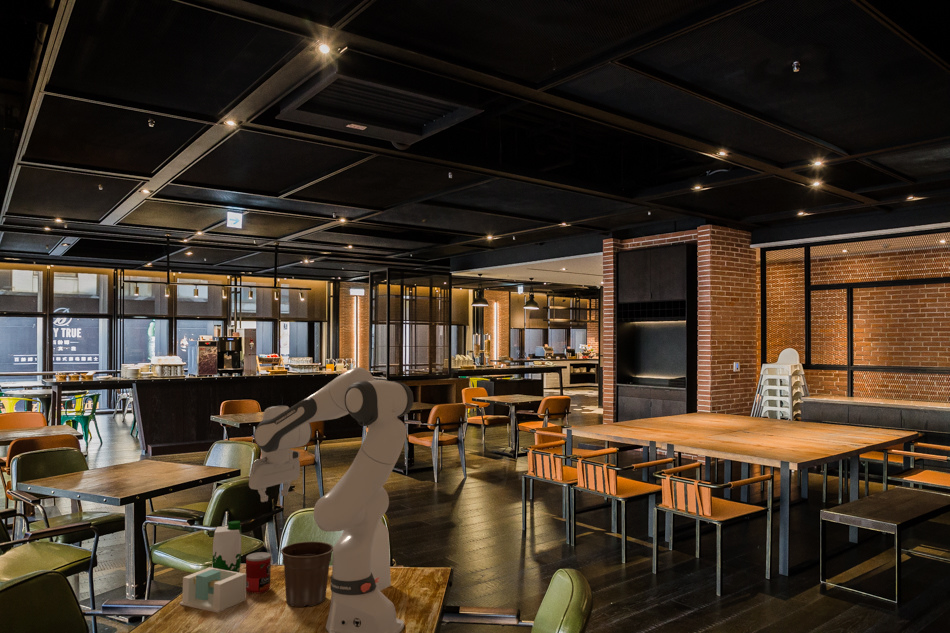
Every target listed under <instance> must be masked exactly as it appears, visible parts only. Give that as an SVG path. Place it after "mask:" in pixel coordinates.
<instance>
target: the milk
mask: <svg viewBox="0 0 950 633" xmlns="http://www.w3.org/2000/svg"><path fill="white" fill-rule="evenodd" d="M389 536H390V534H389V530H388V527H387V526H386V525H385V524H384V523H383V522H382V520H380V522H379V524H378V527H377V530H376V533H375V536H374V540H373V545H372V557H371V572H372V574H373V577H374V580H375V579H376V578H378V577H379V579H378V580H379V581H378V580H377V581H378V582H377V583H376V588H377V589H378V590H379V591H380V592H382V591H383V590H385V589H387V588H388V587H391V585H392V581H391V579H392V578H391V577H392V576H391V559H390V558H391V556H390V537H389Z"/></svg>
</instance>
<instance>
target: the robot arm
mask: <svg viewBox="0 0 950 633" xmlns="http://www.w3.org/2000/svg"><path fill="white" fill-rule="evenodd" d="M413 405H414V394H413V391H412V390H411V388H410V387H409V386H408V385H407V384H405V383H403V382H400V381H395V380H393V381H392V380H391V381H389V380H383V379H377V380H376V379H374V376H373V375H372V373H371V372H370V371H369V370H367V369H366V368H363V367H361V366H360V367H353V368H351V369H349V370H346V371H345V372H343V373H341V374H340V375H338V376H336V377H335V378H334V379H332V380H331V381H330V382H328V383H327V384H325V385H324V386H323V387H322V388H320V389H319V390H317V391H316V392H314V393H313V394H311V395H309V396H308V397H305V398H304V399H302V400H301V401H299V402H297V403H296V404H294V405H292V406H291V407H289V406H288V405H276V406H275V405H274V406H268V407H267V408H266V409H264V412H263V416H262V420H261V421H259V423H258V425H257V427H256V428H255V431H254V434H253V438H254V442H255V444H256V446H257V447H258V448H259V449H260V450H261V452H260V453H261V458H256V459H255V460H254V461H253V463H251V467H250V471H249V478H248V479H249V480H248V487H249V488H250V489H251V490H255V491H256V490H257V493H258V494H259V495H260V496H259V497H260V502H261V503H265V502H268V501H269V495H267V493H266V491H267V488H269V487H275V486H277V485H281V484H283V486H282V487H283V488H282V490H280V496H282V497H286V496H288V495H289V489H290V487H291V485H292V481H296V480H298V479H299V477H300V474H301V473H300V472H301V467H300V466H301V463H300V456H301V452H300V451H298V450H293V448H300V447H303V446H306V445H307V444H308V443H309V442H310V440H311V438H312V434H313V429H312V425H311V423H314V422H320V421H322V422H323V421H329V420H336V419H340V418H341V417H345V416H347V415H350V416H351V417H352V418H353V419H355V421H356V422H357V423H358V425H360V426H362V427H367V433H366V435H365V437H364V440H362V443H361V446H360V448H359V450H358V452H357V454H356V455H355V457H354V459H353V460H352V463H351V465H350V466H349V468H348V469H347V470H346V472H345V473H344V474H343V475H342V476H341V478H340V479H339V480H338V481H337V483H336V484H334V486H333V487H332V488H331V489H330V490H329V491H328V492H326V494H324V495H323V496H322V497H319V499H317V501H316V502H315V504H314V507H313V518H314V522H315V524H316V526H317V527H318V528H319V529H320V530H321V531H322V532H329V533H330V532H331V533H332V532H342V533H341V536H340V538H339V539H337V542H336V543H335V544H334V545H333V547H334V548H333V551H332V566H331V567H332V571H331V572H332V574H331V576H330V592H331V597H330V604H329V612H328V617H327V621H326V623H325V629H326V631H327V632H328V633H401V632H402V630H404V628H405V622H404V620H402V619H400V618H397V612H396V607H395V605H394V603H393V602H392V601H391V600H390V599H389V598H388V597H387V596H386V595H385V594H384V593H383V592H382V591H379V590H378V589H377V588H376V583H377V582H378V581H379V580H378V579H379V577H378V578H376V579H375V580H374V577H373V574H372V572H371V557H372V545H373V540H374V536H375V533H376V530H377V527H378V524H379V522H380V521H382V518H383V516H384V515H385V514H386V512H387V511H388V508H389V505H390V498H389V494H388V492H387V490H386V489H385V488H384V487H383V486H385V484H386V483H387V481H388V480H389V477H390V475H392V472H393V470H394V468H395V465H396V463H397V462H398V460H399V457H400V456H401V453H402V450H403V447H404V445H405V441H406V438H407V432H408V430H407V427H406V425H405V423H404V422H403V421H402V420H401V419H400V417H404V416H405V415H407V414H408V413H409V412H410V411H411V410H412V408H413ZM377 580H378V581H377Z"/></svg>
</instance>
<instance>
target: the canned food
mask: <svg viewBox="0 0 950 633" xmlns="http://www.w3.org/2000/svg"><path fill="white" fill-rule="evenodd" d="M271 563H272V554H271V553H269V552H264V551H261V552H260V551H259V552H252V553H250V554H248V555H246V557H245V574H246V593H249V594H260V593H261V594H262V593H264V592H267V591H269V589H270V588H271V574H272V573H271V570H272V567H271V566H272V564H271Z"/></svg>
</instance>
